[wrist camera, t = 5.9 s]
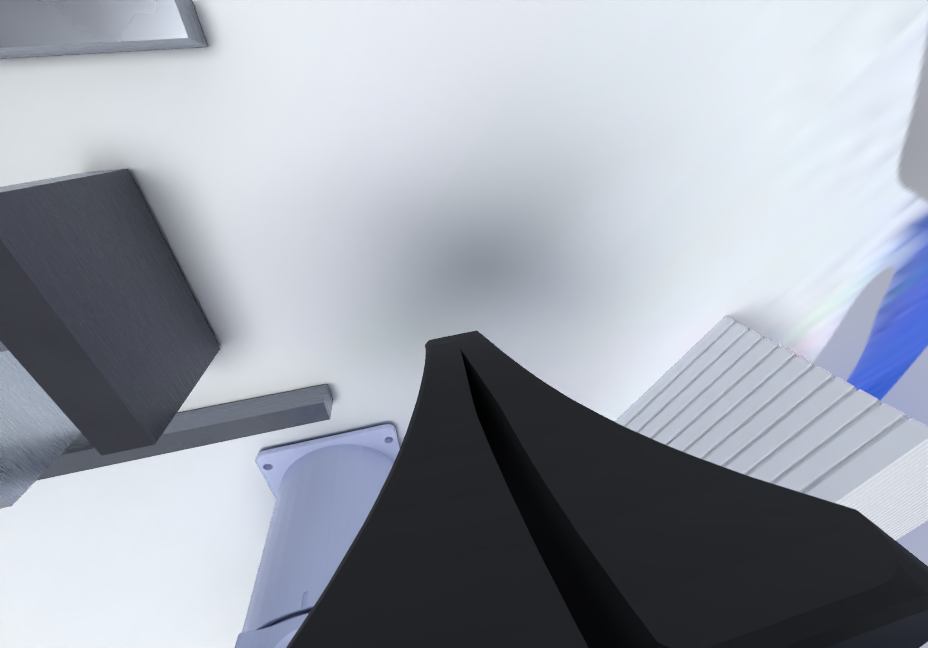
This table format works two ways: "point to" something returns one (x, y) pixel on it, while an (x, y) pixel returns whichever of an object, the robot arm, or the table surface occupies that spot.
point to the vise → (136, 29)
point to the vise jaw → (89, 324)
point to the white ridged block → (789, 426)
